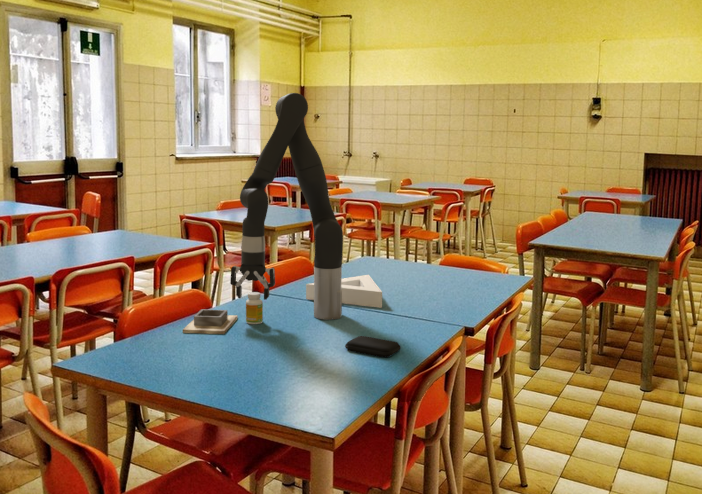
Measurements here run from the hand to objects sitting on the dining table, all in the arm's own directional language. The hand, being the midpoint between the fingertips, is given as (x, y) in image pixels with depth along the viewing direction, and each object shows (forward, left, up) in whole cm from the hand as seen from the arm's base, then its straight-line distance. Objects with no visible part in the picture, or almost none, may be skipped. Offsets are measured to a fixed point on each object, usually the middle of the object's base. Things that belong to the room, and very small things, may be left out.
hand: (252, 298), depth 225 cm
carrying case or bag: (-41, +25, -9) cm, 48 cm away
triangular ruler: (-32, -41, -9) cm, 52 cm away
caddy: (+12, +5, -8) cm, 16 cm away
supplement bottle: (-1, 0, -8) cm, 8 cm away
